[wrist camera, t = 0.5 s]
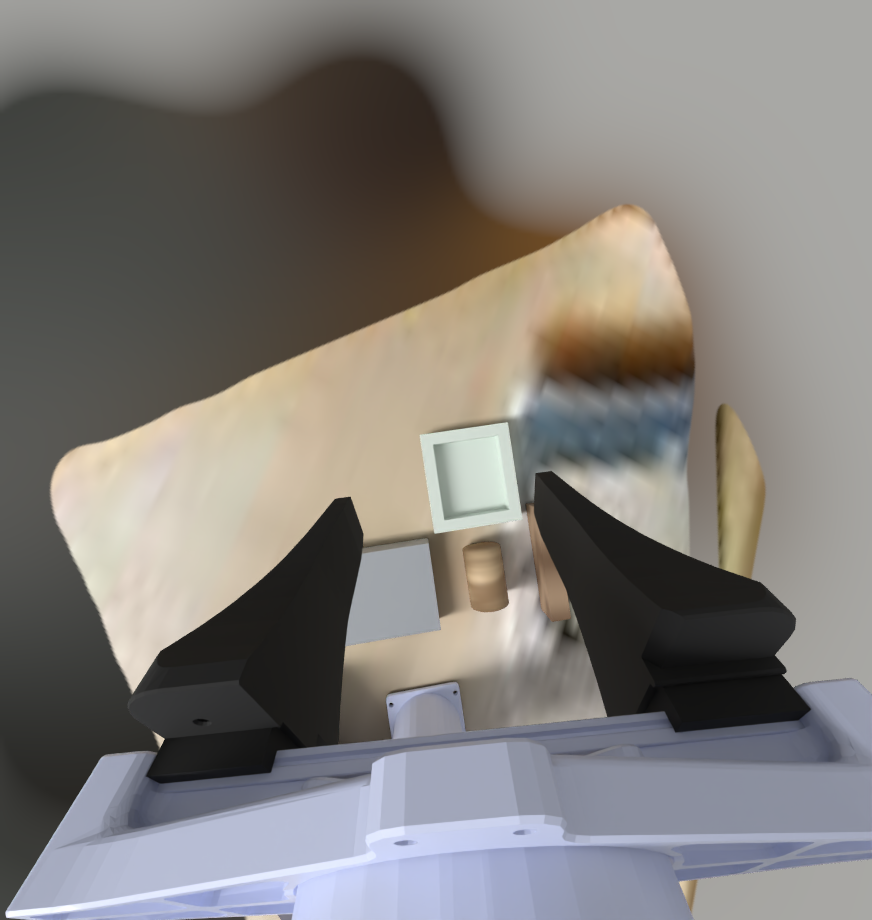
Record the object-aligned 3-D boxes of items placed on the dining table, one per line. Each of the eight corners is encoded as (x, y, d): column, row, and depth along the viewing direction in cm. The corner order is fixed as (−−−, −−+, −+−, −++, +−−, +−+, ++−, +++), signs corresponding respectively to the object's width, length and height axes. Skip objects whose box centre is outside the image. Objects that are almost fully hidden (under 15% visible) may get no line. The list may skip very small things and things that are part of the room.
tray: (515, 516, 37) (522, 519, 35) (433, 529, 37) (434, 533, 34) (502, 425, 37) (507, 422, 35) (419, 436, 37) (419, 434, 35)
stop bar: (558, 606, 37) (570, 618, 34) (541, 609, 37) (552, 621, 34) (542, 501, 38) (553, 504, 35) (525, 503, 37) (534, 507, 34)
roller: (503, 592, 37) (513, 608, 33) (468, 598, 37) (474, 615, 33) (495, 539, 37) (504, 548, 33) (460, 545, 37) (465, 555, 33)
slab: (439, 616, 37) (440, 629, 34) (331, 634, 37) (323, 649, 34) (427, 537, 37) (428, 543, 34) (320, 553, 37) (311, 561, 34)
